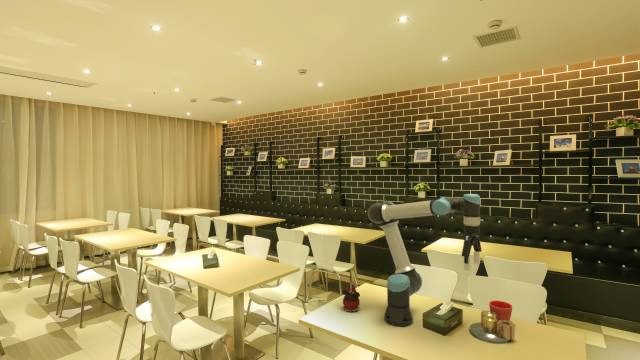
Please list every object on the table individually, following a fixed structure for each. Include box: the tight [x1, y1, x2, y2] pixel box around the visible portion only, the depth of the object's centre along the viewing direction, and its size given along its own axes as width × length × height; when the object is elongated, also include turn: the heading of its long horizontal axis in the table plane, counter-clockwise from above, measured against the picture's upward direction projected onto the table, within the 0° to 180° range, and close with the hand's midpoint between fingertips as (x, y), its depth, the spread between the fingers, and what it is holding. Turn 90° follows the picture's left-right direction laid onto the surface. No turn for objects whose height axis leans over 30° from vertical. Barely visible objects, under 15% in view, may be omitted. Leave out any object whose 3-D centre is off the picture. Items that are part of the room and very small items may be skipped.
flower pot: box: [488, 300, 513, 322], centre depth 174 cm, size 11×11×10 cm
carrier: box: [469, 309, 512, 344], centre depth 163 cm, size 18×20×8 cm
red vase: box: [342, 278, 361, 312], centre depth 193 cm, size 11×9×18 cm
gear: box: [497, 320, 516, 340], centre depth 157 cm, size 7×7×6 cm
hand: (471, 266), depth 166 cm, fingers open, 13 cm apart
